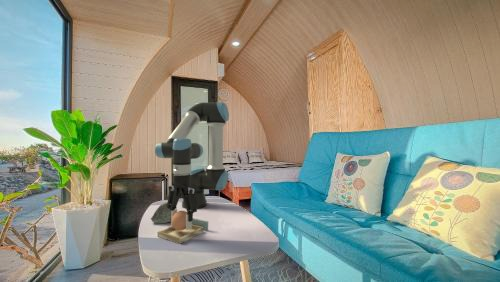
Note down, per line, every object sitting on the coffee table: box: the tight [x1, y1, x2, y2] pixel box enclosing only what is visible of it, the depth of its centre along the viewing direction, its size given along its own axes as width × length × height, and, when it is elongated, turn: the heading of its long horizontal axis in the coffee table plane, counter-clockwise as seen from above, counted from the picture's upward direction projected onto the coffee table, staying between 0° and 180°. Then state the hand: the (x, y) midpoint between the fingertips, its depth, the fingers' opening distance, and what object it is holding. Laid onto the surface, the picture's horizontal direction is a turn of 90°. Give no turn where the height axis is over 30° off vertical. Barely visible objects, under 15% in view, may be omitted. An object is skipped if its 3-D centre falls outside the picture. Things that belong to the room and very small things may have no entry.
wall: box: [192, 217, 209, 232], centre depth 102 cm, size 1×17×4 cm, turn 62°
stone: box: [150, 202, 171, 224], centre depth 110 cm, size 10×10×10 cm
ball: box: [170, 210, 187, 230], centre depth 94 cm, size 8×8×8 cm
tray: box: [157, 225, 204, 245], centre depth 94 cm, size 13×13×2 cm
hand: (181, 226), depth 94 cm, fingers closed on ball, 8 cm apart
